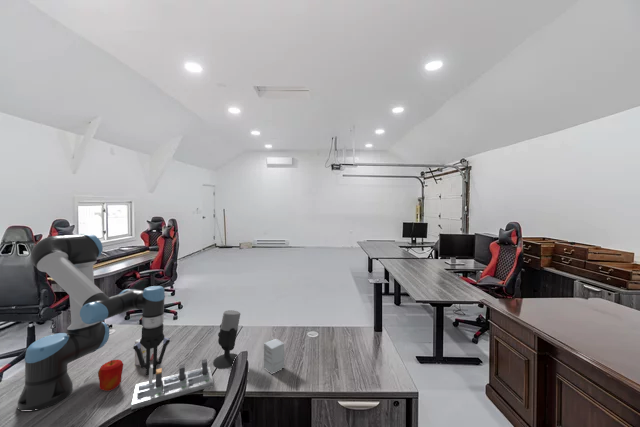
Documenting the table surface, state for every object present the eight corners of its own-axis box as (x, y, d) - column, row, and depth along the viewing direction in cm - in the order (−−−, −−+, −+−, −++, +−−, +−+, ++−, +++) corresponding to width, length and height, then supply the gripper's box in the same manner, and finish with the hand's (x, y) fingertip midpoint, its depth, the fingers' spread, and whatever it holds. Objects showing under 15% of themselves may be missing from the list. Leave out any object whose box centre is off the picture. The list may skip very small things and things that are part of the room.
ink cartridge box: (148, 355, 135) (149, 327, 135) (156, 356, 134) (157, 328, 134) (133, 364, 126) (134, 334, 126) (142, 366, 125) (143, 336, 126)
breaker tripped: (154, 390, 106) (154, 373, 106) (154, 386, 108) (155, 369, 108) (162, 388, 107) (163, 371, 107) (163, 383, 110) (163, 367, 110)
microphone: (245, 361, 132) (246, 312, 132) (220, 372, 122) (221, 319, 122) (232, 351, 140) (233, 305, 140) (208, 361, 131) (209, 312, 131)
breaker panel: (131, 409, 98) (131, 400, 98) (135, 389, 109) (136, 380, 109) (213, 386, 112) (213, 377, 112) (209, 370, 124) (209, 362, 124)
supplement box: (275, 362, 131) (276, 337, 131) (284, 369, 126) (284, 343, 126) (262, 368, 126) (263, 342, 126) (271, 375, 120) (272, 348, 120)
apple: (106, 381, 114) (106, 355, 114) (127, 380, 115) (128, 353, 115) (92, 395, 105) (93, 366, 105) (115, 393, 106) (116, 365, 106)
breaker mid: (177, 384, 110) (178, 369, 110) (177, 380, 113) (178, 365, 113) (185, 382, 111) (186, 367, 111) (185, 378, 114) (185, 363, 114)
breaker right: (200, 377, 114) (201, 363, 114) (200, 374, 117) (200, 360, 117) (208, 376, 116) (208, 361, 116) (207, 372, 118) (207, 358, 118)
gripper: (132, 331, 100) (130, 392, 100) (170, 325, 106) (168, 383, 106) (135, 324, 107) (133, 381, 106) (170, 319, 113) (168, 373, 113)
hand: (150, 382), depth 106 cm, fingers closed
